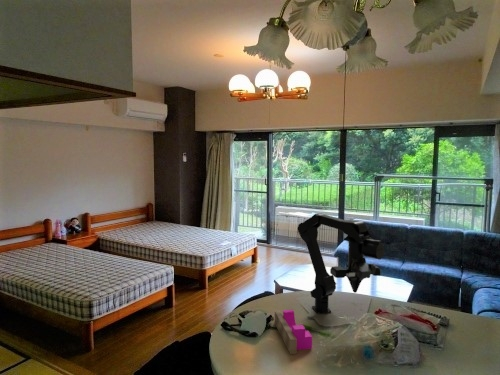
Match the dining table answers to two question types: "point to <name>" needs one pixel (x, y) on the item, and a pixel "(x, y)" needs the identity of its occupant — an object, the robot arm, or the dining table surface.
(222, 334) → the dining table surface
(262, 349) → the dining table surface
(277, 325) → the batten
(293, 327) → the toy block
